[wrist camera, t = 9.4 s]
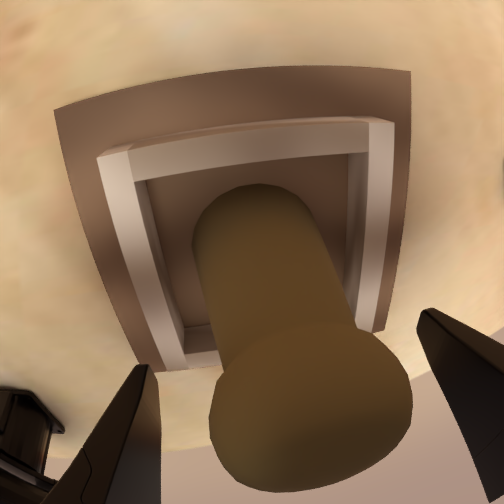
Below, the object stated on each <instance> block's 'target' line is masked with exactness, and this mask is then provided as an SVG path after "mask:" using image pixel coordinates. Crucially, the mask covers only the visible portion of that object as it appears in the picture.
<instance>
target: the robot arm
mask: <svg viewBox="0 0 504 504" xmlns="http://www.w3.org/2000/svg"><path fill="white" fill-rule="evenodd" d="M416 330H417V335H418V337H419V340H420V342H421V344H422V347H423V349H424V352H425V354H426V357H427V360H428V362H429V365H430V367H431V369H432V371H433V373H434V375H435V377H436V379H437V381H438V383H439V385H440V387H441V389H442V391H443V394H444V396H445V397H446V400H447V402H448V404H449V406H450V408H451V410H452V412H453V414H454V417H455V419H456V421H457V423H458V426H459V428H460V430H461V433H462V435H463V437H464V439H465V442H466V444H467V446H468V448H469V451H470V453H471V456H472V459H473V461H474V464H475V467H476V469H477V472H478V474H479V477H480V480H481V482H482V485H483V487H484V490H485V493H486V496H487V498H488V501H489V503H491V502H493V501H494V500H496V499H498V498H499V497H500V496H502V495H504V345H503V344H500V343H499V342H497V341H495V340H493V339H491V338H490V337H488V336H486V335H484V334H482V333H480V332H479V331H477V330H475V329H473V328H471V327H469V326H467V325H465V324H463V323H462V322H460V321H458V320H456V319H454V318H452V317H450V316H448V315H446V314H444V313H442V312H441V311H439V310H437V309H435V308H428V309H425V310H423V311H422V312H421V314H420V317H419V321H418V324H417V328H416ZM64 432H65V429H64V428H63V427H62V426H61V424H60V423H59V422H58V421H57V420H56V419H55V418H54V417H53V416H52V415H51V414H50V413H49V412H48V410H47V409H46V408H45V407H44V406H43V405H42V404H41V403H40V401H39V400H38V399H37V398H36V397H35V395H34V394H33V393H31V392H29V391H17V390H2V389H0V504H161V416H160V403H159V389H158V382H157V379H156V377H155V375H154V373H153V371H152V369H151V367H150V365H149V364H138V365H136V366H135V367H134V368H133V370H132V371H131V373H130V374H129V376H128V377H127V379H126V380H125V382H124V383H123V385H122V386H121V388H120V389H119V391H118V392H117V394H116V395H115V397H114V398H113V400H112V401H111V403H110V404H109V406H108V407H107V409H106V411H105V412H104V414H103V415H102V417H101V418H100V420H99V421H98V423H97V424H96V426H95V428H94V429H93V431H92V432H91V434H90V435H89V437H88V439H87V440H86V442H85V443H84V445H83V448H81V449H80V451H79V453H78V454H77V456H76V457H75V459H74V460H73V462H72V463H71V465H70V466H69V468H68V469H67V470H66V472H65V473H64V474H63V476H62V477H61V478H60V480H59V481H57V480H55V479H51V478H48V477H46V476H44V470H45V465H46V459H47V454H48V449H49V444H50V439H51V435H52V433H56V434H64Z"/></svg>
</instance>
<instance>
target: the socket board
mask: <svg viewBox="0 0 504 504" xmlns="http://www.w3.org/2000/svg"><path fill="white" fill-rule="evenodd" d="M54 115H55V120H56V125H57V130H58V135H59V140H60V144H61V149H62V153H63V157H64V161H65V166H66V170H67V173H68V177H69V181H70V185H71V188H72V192H73V195H74V199H75V202H76V206H77V209H78V212H79V216H80V219H81V222H82V225H83V228H84V231H85V234H86V237H87V240H88V243H89V246H90V249H91V252H92V254H93V257H94V260H95V263H96V265H97V268H98V271H99V273H100V276H101V278H102V281H103V284H104V286H105V289H106V291H107V293H108V296H109V298H110V301H111V303H112V305H113V308H114V310H115V312H116V315H117V317H118V319H119V322H120V324H121V326H122V328H123V330H124V333H125V335H126V337H127V339H128V341H129V343H130V345H131V347H132V350H133V352H134V354H135V356H136V358H137V360H138V362H139V364H149V365H150V367H151V369H152V371H153V373H155V372H165V371H168V372H169V371H178V370H187V369H195V368H203V367H210V366H217V365H222V363H221V359H220V356H219V352H218V349H217V345H216V342H215V338H214V334H213V331H212V327H211V323H210V319H209V316H208V312H207V308H206V304H205V300H204V296H203V292H202V288H201V284H200V280H199V276H198V272H197V268H196V264H195V260H194V256H193V251H192V247H191V246H192V239H193V231H194V227H195V225H196V223H197V221H198V219H199V217H200V216H201V214H202V212H203V210H204V209H205V208H206V207H207V206H208V205H209V204H211V203H212V202H213V201H214V200H215V199H216V198H217V197H218V196H219V195H221V194H223V193H226V192H228V191H230V190H232V189H234V188H236V187H238V186H244V185H251V184H257V183H262V184H268V185H274V186H280V187H282V188H284V189H286V190H288V191H290V192H292V193H293V194H295V195H297V196H298V197H299V198H300V199H301V200H302V201H303V202H304V203H305V204H306V206H307V207H308V208H309V209H310V211H311V213H312V215H313V218H314V220H315V222H316V225H317V227H318V229H319V232H320V234H321V236H322V239H323V241H324V244H325V246H326V248H327V251H328V253H329V256H330V258H331V261H332V263H333V266H334V268H335V271H336V273H337V276H338V278H339V281H340V283H341V286H342V288H343V291H344V294H345V296H346V299H347V301H348V304H349V307H350V309H351V312H352V315H353V318H354V320H355V323H356V326H357V328H358V329H361V330H364V331H367V332H370V333H375V332H379V331H383V330H384V329H385V324H386V320H387V316H388V311H389V306H390V302H391V297H392V292H393V287H394V282H395V276H396V271H397V265H398V259H399V253H400V246H401V239H402V232H403V225H404V217H405V208H406V198H407V188H408V176H409V162H410V142H411V71H403V70H393V69H383V68H370V67H353V66H279V67H262V68H249V69H238V70H228V71H219V72H211V73H204V74H197V75H191V76H185V77H179V78H173V79H168V80H162V81H157V82H152V83H148V84H143V85H139V86H134V87H130V88H126V89H122V90H118V91H114V92H110V93H107V94H103V95H99V96H96V97H92V98H89V99H86V100H83V101H79V102H76V103H73V104H70V105H67V106H64V107H61V108H58V109H55V110H54Z"/></svg>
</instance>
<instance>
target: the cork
mask: <svg viewBox="0 0 504 504" xmlns="http://www.w3.org/2000/svg"><path fill="white" fill-rule="evenodd" d="M191 247H192V251H193V256H194V260H195V264H196V268H197V272H198V276H199V280H200V284H201V288H202V292H203V296H204V300H205V304H206V308H207V312H208V316H209V319H210V323H211V327H212V331H213V334H214V338H215V342H216V345H217V349H218V352H219V356H220V359H221V363H222V366H223V370H224V373H223V374H222V375H221V377H220V378H219V379H218V380H217V382H216V386H215V391H214V395H213V399H212V404H211V409H210V414H209V431H210V439H211V441H212V444H213V446H214V449H215V451H216V454H217V456H218V458H219V460H220V462H221V463H222V465H223V467H224V468H225V469H226V470H227V471H228V472H229V474H230V475H231V476H232V477H233V478H234V479H235V480H236V481H237V482H240V483H242V484H244V485H246V486H248V487H251V488H254V489H257V490H261V491H268V492H275V493H278V492H279V493H280V492H297V491H303V490H310V489H315V488H320V487H323V486H327V485H331V484H334V483H337V482H339V481H342V480H345V479H347V478H350V477H351V476H354V475H356V474H358V473H360V472H362V471H364V470H366V469H367V468H369V467H371V466H373V465H374V464H376V463H377V462H379V461H380V460H382V459H383V458H384V457H386V456H387V455H388V454H389V453H390V452H391V451H392V450H393V449H394V448H395V447H396V446H397V445H398V443H399V442H400V441H401V440H402V438H403V437H404V435H405V434H406V432H407V430H408V428H409V427H410V424H411V417H412V408H413V399H412V390H411V386H410V382H409V378H408V374H407V373H406V371H405V369H404V368H403V366H402V365H401V363H400V361H399V360H398V358H397V357H396V356H395V355H394V354H393V353H392V352H391V351H390V350H389V349H388V348H387V346H386V345H384V344H383V343H382V342H381V341H380V340H379V339H378V338H376V337H375V336H374V335H373V334H372V333H370V332H367V331H364V330H361V329H358V328H357V326H356V323H355V320H354V318H353V315H352V312H351V309H350V307H349V304H348V301H347V299H346V296H345V294H344V291H343V288H342V286H341V283H340V281H339V278H338V276H337V273H336V271H335V268H334V266H333V263H332V261H331V258H330V256H329V253H328V251H327V248H326V246H325V244H324V241H323V239H322V236H321V234H320V232H319V229H318V227H317V225H316V222H315V220H314V218H313V215H312V213H311V211H310V209H309V208H308V207H307V206H306V204H305V203H304V202H303V201H302V200H301V199H300V198H299V197H298V196H297V195H295V194H293V193H292V192H290V191H288V190H286V189H284V188H282V187H280V186H274V185H268V184H262V183H257V184H251V185H244V186H238V187H236V188H234V189H232V190H230V191H228V192H226V193H223V194H221V195H219V196H218V197H217V198H216V199H215V200H214V201H213V202H212V203H211V204H209V205H208V206H207V207H206V208H205V209H204V210H203V212H202V214H201V216H200V217H199V219H198V221H197V223H196V225H195V227H194V231H193V239H192V246H191Z"/></svg>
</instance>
